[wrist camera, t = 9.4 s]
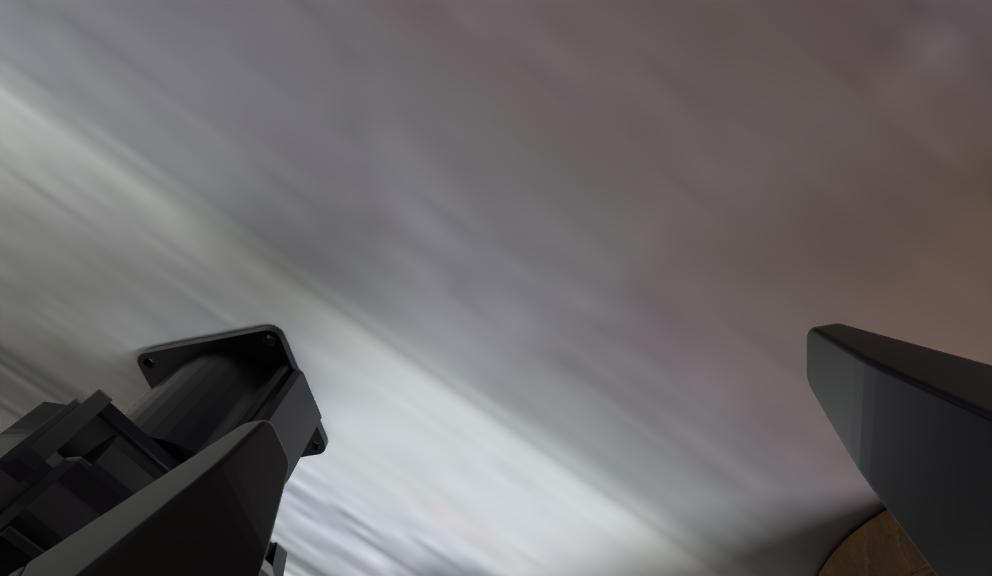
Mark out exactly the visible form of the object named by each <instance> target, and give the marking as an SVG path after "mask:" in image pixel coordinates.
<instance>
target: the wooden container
mask: <svg viewBox="0 0 992 576" xmlns="http://www.w3.org/2000/svg"><path fill="white" fill-rule="evenodd" d="M818 576H937V575H936V574H935V573H934V571H933V570H932V568H931V567H930V566H929V564H928V563H927V562H926V560H925V559H924V558H923V556H922V555H921V554H920V552H919V551H918V550H917V548H916V547H915V546H914V544H913V543H912V541H911V540H910V539H909V537H908V536H907V535H906V533H905V532H904V531H903V529H902V528H901V527H900V525H899V524H898V523H897V521H896V520H895V519H894V517H893V516H892V515H891V513H890V512H889V510H888V509H887V510H885V511H883V512H882V513H880V514H879V515H877V516H875V517H874V518H872V519H871V520H870V521H868V522H867V523H865V524H864V525H863V526H862V527H860V528H859V529H858V530H856V531H855V532H854V533H852V534H851V535H850V536H849V537H848V538H847V539H846V540H845V541H844V542H843V543H842V544H841V545H840V546H839V547H838V548H837V549H836V550H835V551H834V552H833V554H832V555H831V556H830V558H829V559H828V561H827V562H826V564H825V565H824V567H823V568H822V570H821V571H820V573H819V575H818Z"/></svg>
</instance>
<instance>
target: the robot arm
mask: <svg viewBox="0 0 992 576" xmlns="http://www.w3.org/2000/svg"><path fill="white" fill-rule="evenodd" d="M267 335H269V336H272V337H273V338H274V339H275V342H274V341H271V340H269V339H268V337H267ZM149 358H150V359H152V360H153V361H154V362H155V363H153V362H151V361H150V359H149ZM137 362H138V365H139V367H140V369H141V370H142V372H143V374H144V376H145V378H146V380H147V381H148V383H149V385H150V387H151V389H152V390H151V391H150V392H148V393H147V394H146V395H145V396H144V397H143V398H142V399H141V400H140V401H139V402H138V403H136V404H135V405H134V406H133V407H132V408H131V409H130V410H129V411H128V412H127V413H126V414H123V413H122V412H121V411H120V410H118V409H117V408H116V407H115V406H114V405H113V404H111V403H110V402H111V401H112V399H111V398H110V397H109V396H108V395H106V394H105V393H104V392H103V391H102V390H101V389H99V390H97V391H96V392H95V393H93V394H92V395H91V396H89V397H88V398H87V399H85V400H84V401H83V402H80V401H79V400H78V399H75V400H73V401H72V402H71V403H69V404H68V405H63V404H57V403H50V402H43V403H42V404H41V405H39V406H38V407H36V408H35V409H34V410H32V411H31V412H30V413H28V414H27V415H26V416H24V417H23V418H21V419H20V420H19V421H17V422H16V423H15V424H13V425H12V426H10V427H9V428H8V429H6V430H5V431H4V432H2V433H1V434H0V576H283V574H284V568H285V562H286V557H287V551H286V550H285V549H284V548H283V547H282V546H280V545H279V544H278V543H277V542H275V543H272V542H271V541H270V540H271V536H272V532H273V528H274V524H275V520H276V517H277V513H278V509H279V505H280V501H281V497H282V493H283V489H284V486H285V484H286V483H287V481H288V479H289V478H290V476H291V474H292V472H293V470H294V468H295V466H296V465H297V463H298V461H299V459H300V457H305V456H311V455H317V454H321V453H322V452H324V451H325V449H326V446H327V444H328V438H327V435H326V433H325V431H324V428H323V426H322V423H321V421H320V420H321V414H320V412H319V409H318V407H317V405H316V402H315V400H314V397H313V395H312V393H311V390H310V388H309V385H308V383H307V380H306V378H305V376H304V373H303V372H302V371H301V370H300V369H299V368H298V366H297V363H296V361H295V359H294V356H293V354H292V351H291V349H290V347H289V344H288V342H287V339H286V337H285V335H284V333H283V331H282V330H281V329H279V328H278V327H275V326H265V327H260V328H255V329H250V330H245V331H239V332H234V333H229V334H224V335H218V336H213V337H208V338H203V339H197V340H192V341H187V342H182V343H176V344H171V345H166V346H161V347H155V348H150V349H148V350H146V351H144V352H143V353H142V354H141V355H140V356H139V357H138V361H137ZM807 378H808V382H809V385H810V387H811V389H812V391H813V393H814V394H815V396H816V398H817V399H818V401H819V403H820V405H821V406H822V408H823V410H824V412H825V413H826V415H827V417H828V418H829V420H830V422H831V424H832V425H833V427H834V429H835V430H836V432H837V434H838V436H839V437H840V439H841V441H842V443H843V444H844V446H845V448H846V449H847V451H848V453H849V455H850V456H851V458H852V460H853V461H854V463H855V464H856V466H857V468H858V469H859V471H860V472H861V474H862V475H863V476H864V478H865V479H866V481H867V482H868V483H869V485H870V486H871V488H872V489H873V490H874V492H875V493H876V494H877V496H878V497H879V498H880V500H881V501H882V502H883V504H884V505H885V506H886V508H887V509H888V510H889V512H890V513H891V515H892V516H893V517H894V519H895V520H896V521H897V523H898V524H899V525H900V527H901V528H902V529H903V531H904V532H905V533H906V535H907V536H908V537H909V539H910V540H911V541H912V543H913V544H914V546H915V547H916V548H917V550H918V551H919V552H920V554H921V555H922V556H923V558H924V559H925V560H926V562H927V563H928V564H929V566H930V567H931V568H932V570H933V571H934V573H935V574H936V575H937V576H992V365H988V364H984V363H981V362H977V361H973V360H970V359H966V358H962V357H959V356H955V355H952V354H948V353H944V352H941V351H937V350H933V349H930V348H926V347H923V346H919V345H915V344H912V343H908V342H904V341H901V340H897V339H893V338H890V337H886V336H883V335H879V334H875V333H872V332H868V331H864V330H861V329H857V328H854V327H850V326H846V325H843V324H830V325H824V326H818V327H814V328H811V329H810V331H809V332H808V335H807ZM313 441H316V442H318V443H319V444H315V443H314V442H313Z"/></svg>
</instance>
